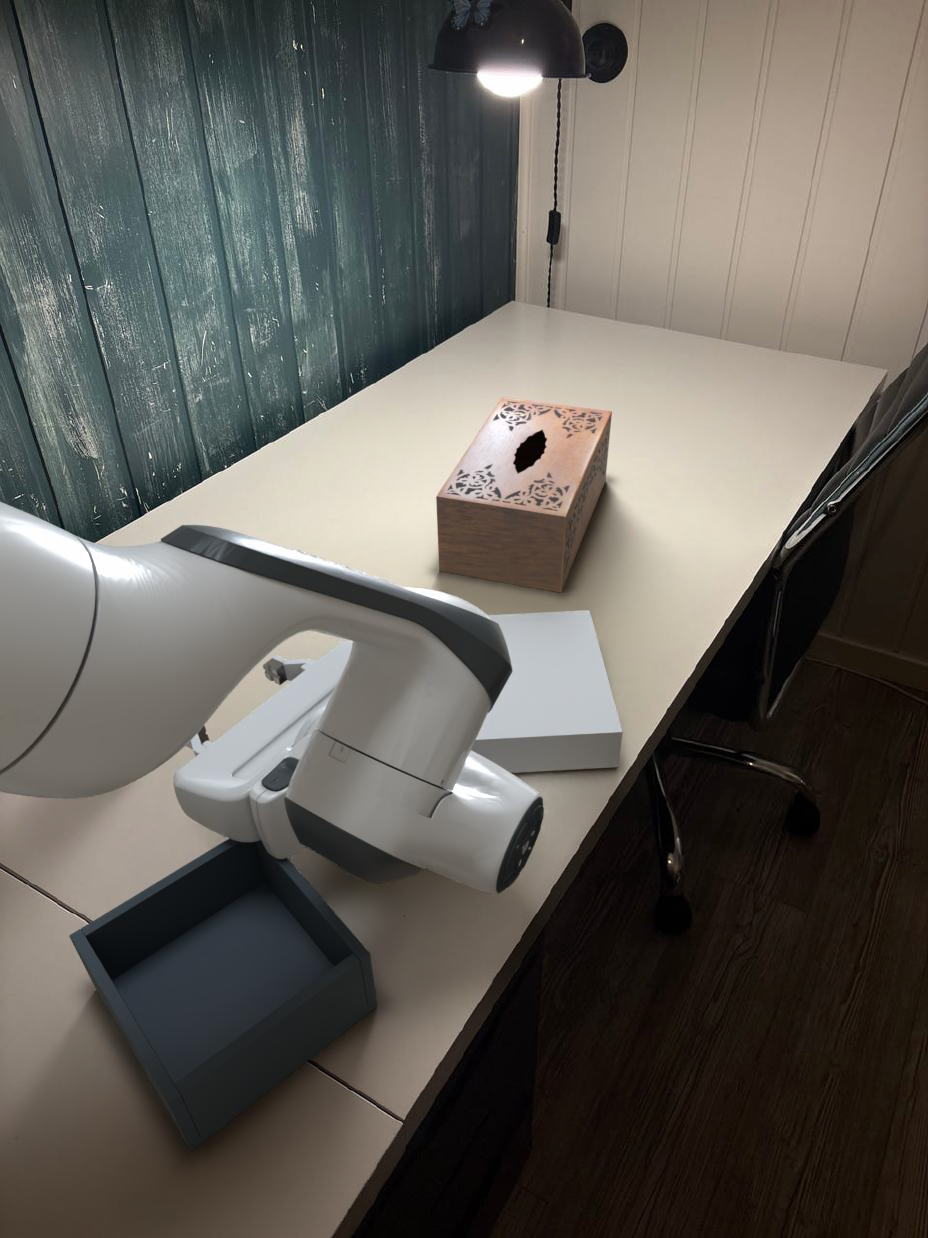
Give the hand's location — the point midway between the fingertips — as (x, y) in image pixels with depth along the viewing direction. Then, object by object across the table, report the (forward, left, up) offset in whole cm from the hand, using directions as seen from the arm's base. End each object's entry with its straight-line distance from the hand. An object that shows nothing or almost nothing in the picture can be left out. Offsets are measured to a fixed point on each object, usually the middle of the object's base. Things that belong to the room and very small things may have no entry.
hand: (229, 696), depth 77 cm
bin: (-12, -18, -9) cm, 24 cm away
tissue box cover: (+47, +13, -9) cm, 50 cm away
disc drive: (+21, -8, -9) cm, 25 cm away
